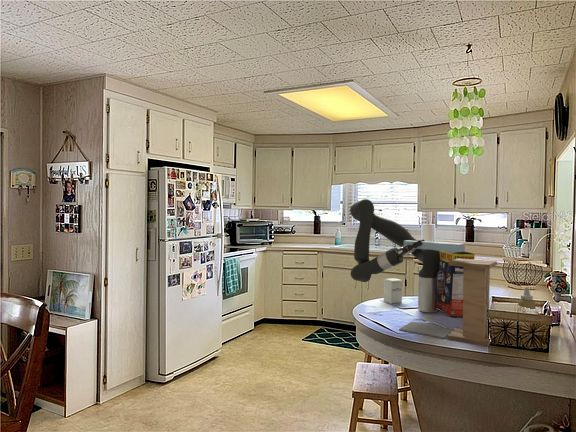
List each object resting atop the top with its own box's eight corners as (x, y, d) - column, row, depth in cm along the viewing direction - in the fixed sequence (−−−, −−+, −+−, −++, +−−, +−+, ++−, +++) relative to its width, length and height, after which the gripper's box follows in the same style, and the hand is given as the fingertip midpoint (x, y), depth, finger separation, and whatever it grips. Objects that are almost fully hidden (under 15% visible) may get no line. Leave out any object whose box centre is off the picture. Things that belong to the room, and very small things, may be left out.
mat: (411, 322, 196) (411, 321, 196) (455, 330, 185) (455, 328, 185) (399, 330, 184) (399, 328, 184) (444, 338, 173) (444, 337, 173)
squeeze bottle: (531, 331, 183) (532, 289, 183) (512, 327, 190) (512, 286, 189) (540, 328, 188) (541, 287, 187) (521, 324, 194) (521, 284, 194)
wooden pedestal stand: (457, 330, 184) (458, 258, 183) (495, 337, 175) (496, 261, 174) (447, 338, 172) (448, 261, 172) (487, 346, 164) (489, 264, 163)
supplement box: (391, 303, 234) (391, 280, 234) (383, 301, 241) (383, 278, 241) (402, 302, 237) (402, 279, 236) (394, 300, 244) (394, 277, 243)
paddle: (408, 246, 193) (408, 240, 193) (464, 250, 179) (464, 243, 178) (401, 248, 186) (401, 241, 186) (459, 252, 172) (459, 244, 172)
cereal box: (472, 318, 205) (476, 251, 204) (449, 317, 205) (452, 250, 204) (450, 306, 231) (453, 246, 231) (430, 305, 231) (432, 245, 231)
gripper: (379, 252, 189) (413, 234, 180) (392, 250, 200) (424, 233, 191) (387, 268, 187) (421, 250, 178) (399, 264, 198) (432, 248, 189)
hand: (423, 241), depth 185 cm, fingers closed on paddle, 3 cm apart
